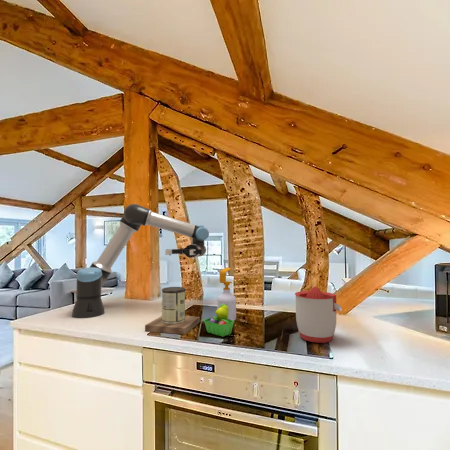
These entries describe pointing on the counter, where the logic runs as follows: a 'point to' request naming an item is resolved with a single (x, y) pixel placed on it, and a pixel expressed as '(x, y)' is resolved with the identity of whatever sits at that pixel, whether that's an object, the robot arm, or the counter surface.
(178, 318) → the coffee can
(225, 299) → the soap bottle
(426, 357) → the counter surface
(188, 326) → the walnut trivet board
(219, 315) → the fruit basket
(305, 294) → the citrus juicer
